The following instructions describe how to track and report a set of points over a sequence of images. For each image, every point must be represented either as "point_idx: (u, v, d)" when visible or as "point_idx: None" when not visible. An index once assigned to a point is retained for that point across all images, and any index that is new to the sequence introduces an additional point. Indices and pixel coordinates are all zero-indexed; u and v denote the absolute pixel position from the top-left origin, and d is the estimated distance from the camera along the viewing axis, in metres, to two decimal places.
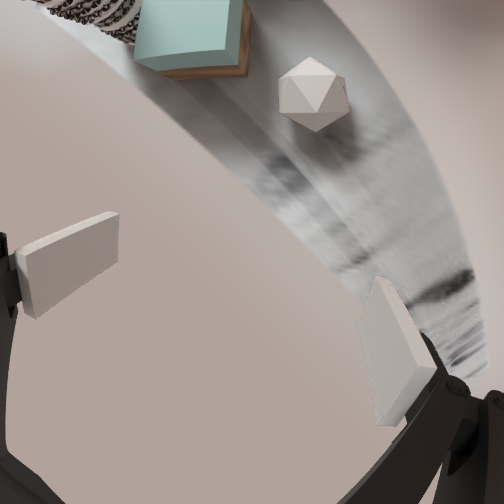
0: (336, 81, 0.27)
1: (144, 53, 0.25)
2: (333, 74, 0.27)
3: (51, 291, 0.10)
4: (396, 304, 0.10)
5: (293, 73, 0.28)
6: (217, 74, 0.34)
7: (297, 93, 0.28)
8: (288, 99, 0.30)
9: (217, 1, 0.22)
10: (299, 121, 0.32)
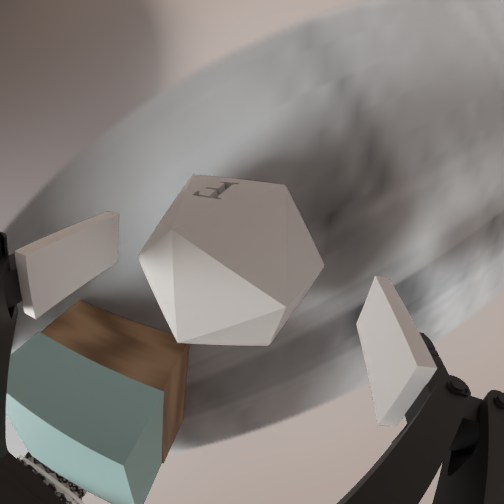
0: (193, 229, 0.11)
1: None
2: (171, 236, 0.11)
3: (51, 291, 0.10)
4: (396, 304, 0.10)
5: (172, 328, 0.13)
6: (179, 386, 0.21)
7: (224, 333, 0.12)
8: (239, 340, 0.13)
9: (35, 423, 0.12)
10: (295, 307, 0.15)
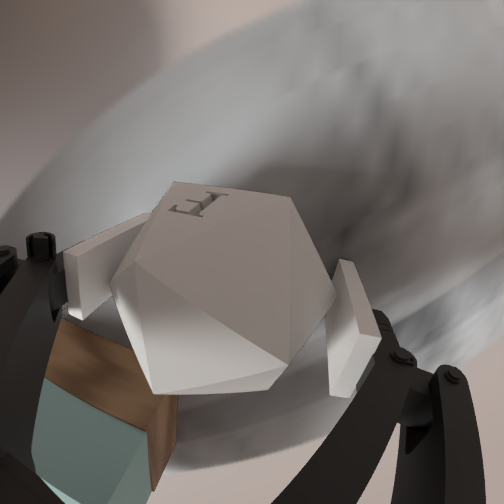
0: (163, 260, 0.08)
1: None
2: (134, 270, 0.08)
3: (98, 292, 0.11)
4: (353, 282, 0.12)
5: (146, 376, 0.09)
6: (169, 416, 0.18)
7: (209, 387, 0.09)
8: (230, 390, 0.10)
9: None
10: None
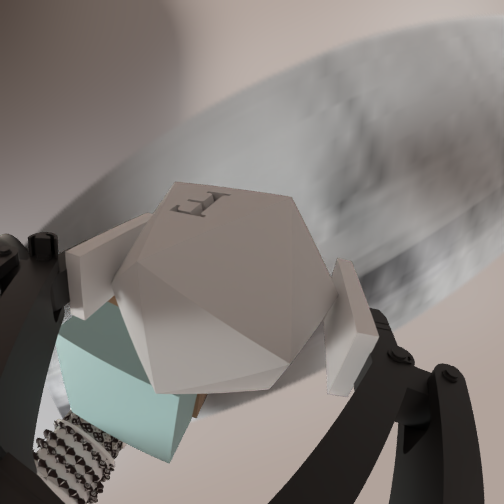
0: (165, 260, 0.08)
1: (163, 454, 0.20)
2: (137, 269, 0.08)
3: (100, 292, 0.11)
4: (351, 281, 0.12)
5: (148, 376, 0.10)
6: None
7: (212, 386, 0.09)
8: (232, 389, 0.10)
9: (98, 370, 0.18)
10: None
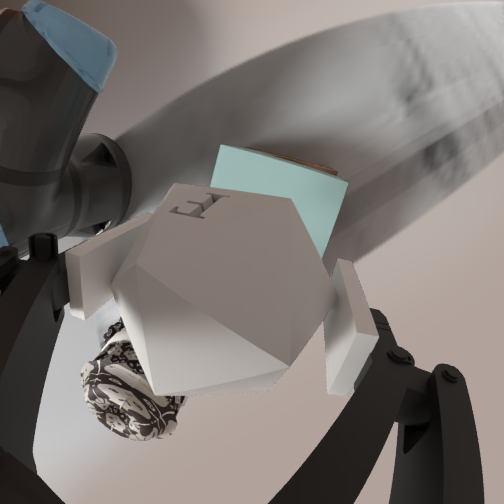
0: (164, 262, 0.08)
1: None
2: (136, 272, 0.08)
3: (100, 292, 0.11)
4: (351, 282, 0.12)
5: (148, 378, 0.10)
6: None
7: (211, 388, 0.09)
8: (231, 391, 0.10)
9: (267, 174, 0.23)
10: None
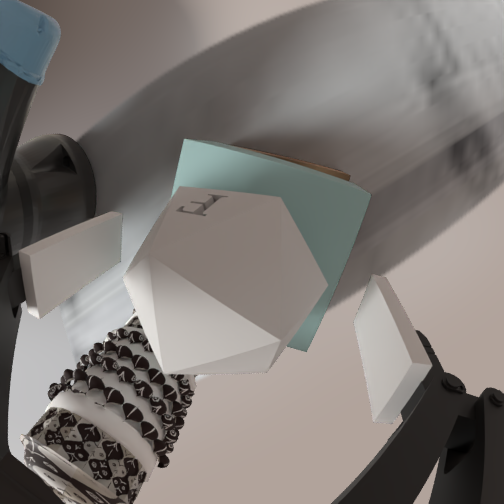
0: (172, 252, 0.09)
1: (305, 331, 0.18)
2: (149, 260, 0.09)
3: (55, 291, 0.10)
4: (392, 302, 0.11)
5: (157, 358, 0.11)
6: None
7: (214, 365, 0.11)
8: (232, 370, 0.12)
9: (251, 180, 0.16)
10: (295, 332, 0.13)
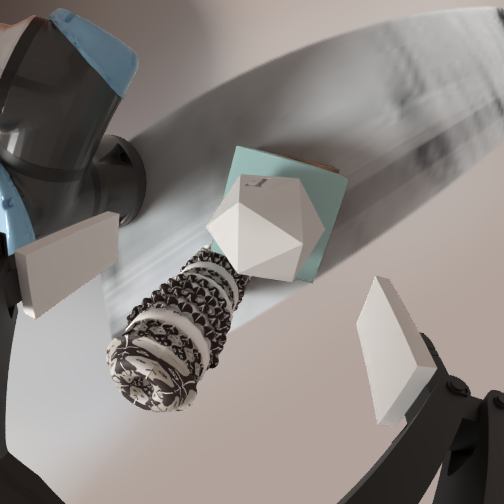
0: (250, 202, 0.20)
1: (311, 267, 0.28)
2: (238, 206, 0.20)
3: (51, 291, 0.10)
4: (396, 304, 0.10)
5: (233, 265, 0.21)
6: None
7: (267, 265, 0.21)
8: (274, 274, 0.22)
9: (277, 171, 0.26)
10: (308, 255, 0.23)
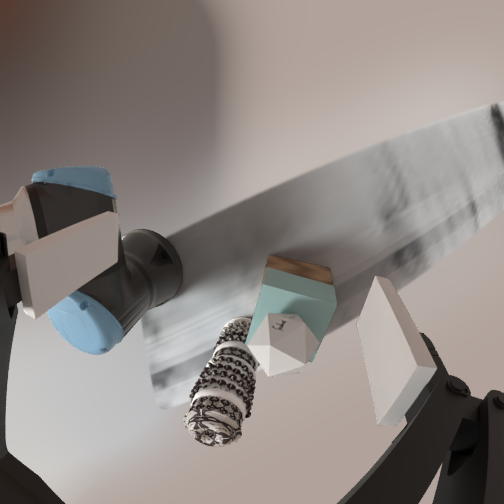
0: (276, 344, 0.34)
1: None
2: (269, 346, 0.34)
3: (51, 291, 0.10)
4: (396, 304, 0.10)
5: (266, 372, 0.35)
6: None
7: (285, 372, 0.35)
8: (289, 373, 0.36)
9: (290, 301, 0.40)
10: None
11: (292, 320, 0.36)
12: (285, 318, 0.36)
